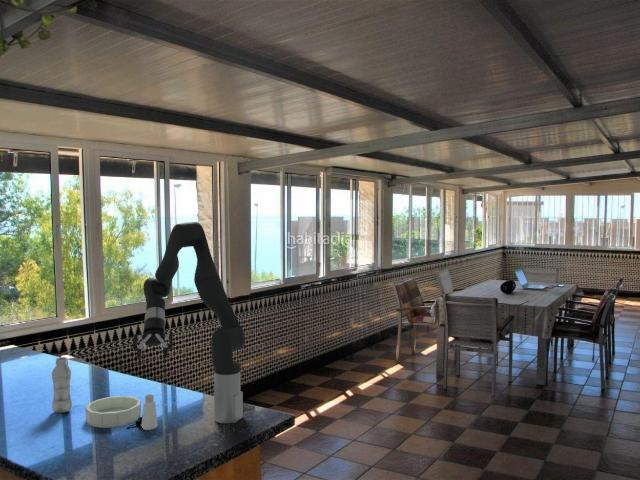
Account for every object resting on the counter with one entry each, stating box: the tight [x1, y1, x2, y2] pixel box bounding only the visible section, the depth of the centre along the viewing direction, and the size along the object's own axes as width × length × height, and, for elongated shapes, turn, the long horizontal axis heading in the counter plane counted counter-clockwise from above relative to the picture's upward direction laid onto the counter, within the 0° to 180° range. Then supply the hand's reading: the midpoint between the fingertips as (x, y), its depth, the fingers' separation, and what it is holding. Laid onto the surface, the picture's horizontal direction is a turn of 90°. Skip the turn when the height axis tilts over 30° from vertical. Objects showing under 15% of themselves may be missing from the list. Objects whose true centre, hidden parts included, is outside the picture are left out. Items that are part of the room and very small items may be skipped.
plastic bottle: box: [51, 357, 73, 414], centre depth 197 cm, size 6×7×20 cm
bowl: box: [85, 395, 142, 429], centre depth 191 cm, size 18×18×5 cm
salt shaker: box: [141, 393, 159, 431], centre depth 183 cm, size 5×5×11 cm
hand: (152, 359), depth 194 cm, fingers open, 8 cm apart
